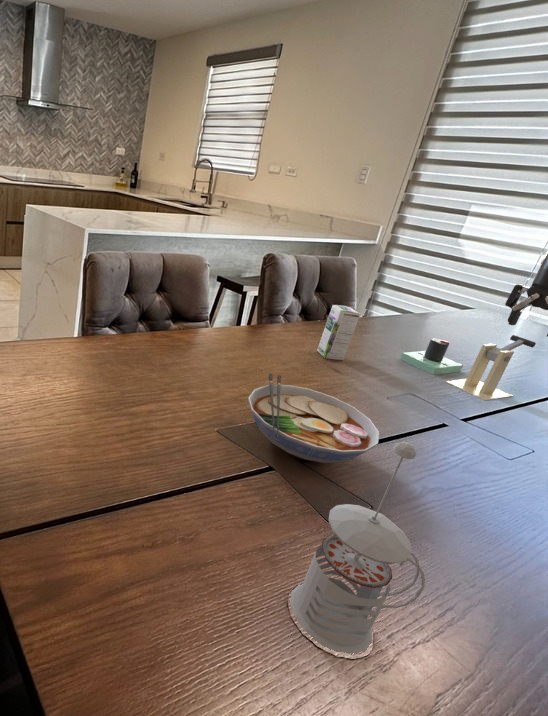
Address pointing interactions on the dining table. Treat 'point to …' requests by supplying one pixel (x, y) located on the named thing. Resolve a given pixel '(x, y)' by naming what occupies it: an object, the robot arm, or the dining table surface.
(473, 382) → the wooden stand
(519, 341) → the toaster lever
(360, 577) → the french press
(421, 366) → the panel
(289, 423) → the ramen bowl
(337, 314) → the syrup box
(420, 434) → the dining table surface
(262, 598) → the dining table surface
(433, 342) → the black sushi roll
